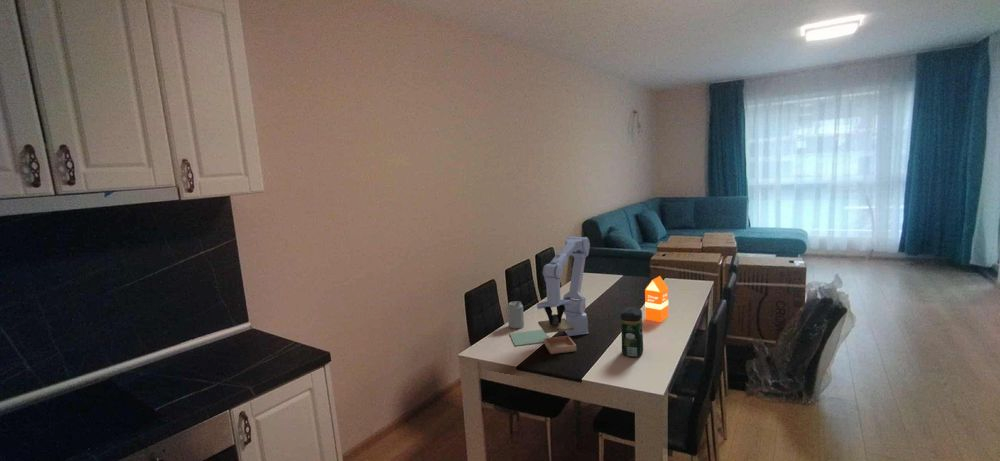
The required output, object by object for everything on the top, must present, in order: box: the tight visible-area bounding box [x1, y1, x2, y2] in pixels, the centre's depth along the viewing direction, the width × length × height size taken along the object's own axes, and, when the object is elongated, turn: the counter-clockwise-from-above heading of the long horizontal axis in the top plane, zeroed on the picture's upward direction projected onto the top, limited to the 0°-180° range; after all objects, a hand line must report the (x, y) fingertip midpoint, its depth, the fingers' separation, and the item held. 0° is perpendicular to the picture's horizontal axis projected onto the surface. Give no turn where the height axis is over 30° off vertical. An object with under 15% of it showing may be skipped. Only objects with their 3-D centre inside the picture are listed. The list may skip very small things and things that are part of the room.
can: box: [507, 300, 525, 330], centre depth 217 cm, size 8×8×12 cm
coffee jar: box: [620, 306, 644, 358], centre depth 179 cm, size 10×8×19 cm
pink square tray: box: [543, 335, 577, 355], centre depth 190 cm, size 11×11×2 cm
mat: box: [509, 328, 550, 347], centre depth 202 cm, size 16×14×1 cm
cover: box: [537, 313, 574, 334], centre depth 190 cm, size 12×12×5 cm
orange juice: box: [644, 275, 669, 323], centre depth 215 cm, size 8×9×20 cm
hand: (555, 323), depth 190 cm, fingers closed on cover, 3 cm apart
